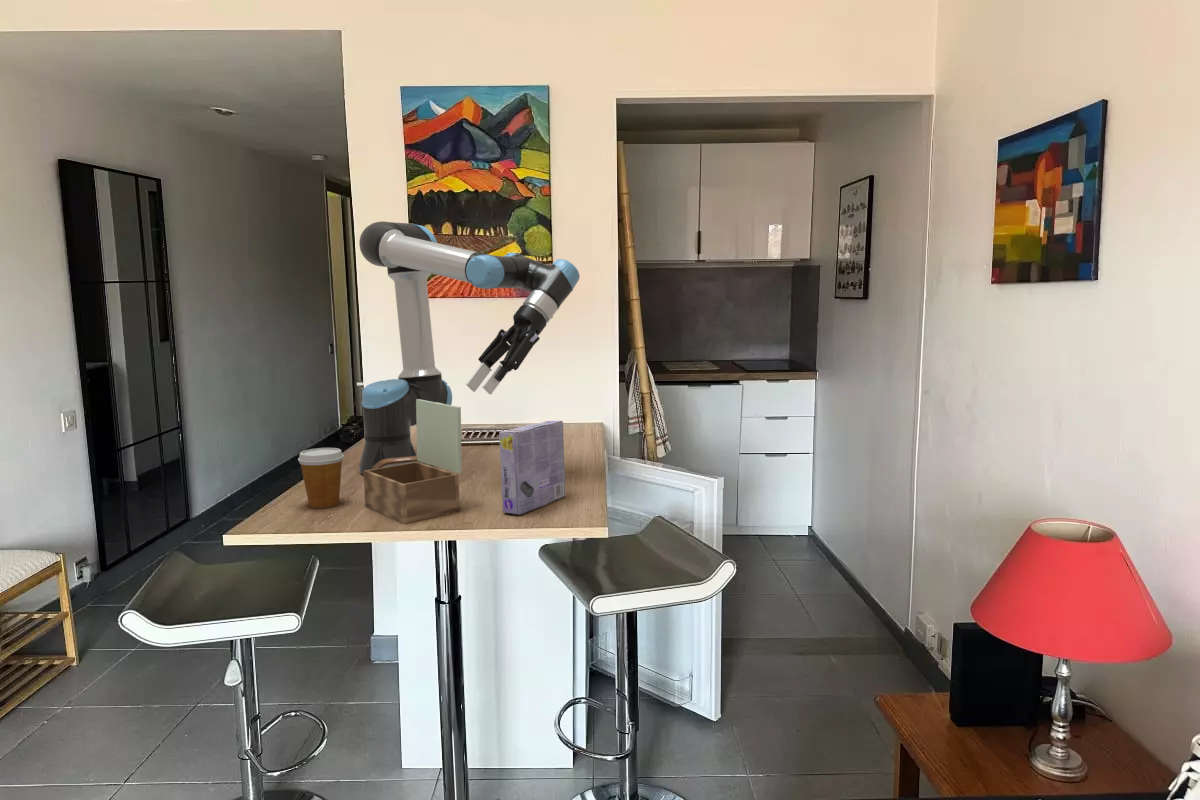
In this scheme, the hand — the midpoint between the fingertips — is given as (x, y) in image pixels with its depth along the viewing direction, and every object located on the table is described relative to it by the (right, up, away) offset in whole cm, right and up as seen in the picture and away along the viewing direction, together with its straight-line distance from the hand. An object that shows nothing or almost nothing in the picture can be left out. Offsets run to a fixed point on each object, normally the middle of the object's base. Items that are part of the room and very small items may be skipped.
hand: (478, 389), depth 179 cm
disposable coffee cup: (-34, -26, -4) cm, 43 cm away
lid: (-8, -10, -6) cm, 14 cm away
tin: (-18, -24, +6) cm, 31 cm away
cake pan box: (+14, -26, -6) cm, 30 cm away
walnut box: (-13, -26, -8) cm, 30 cm away
